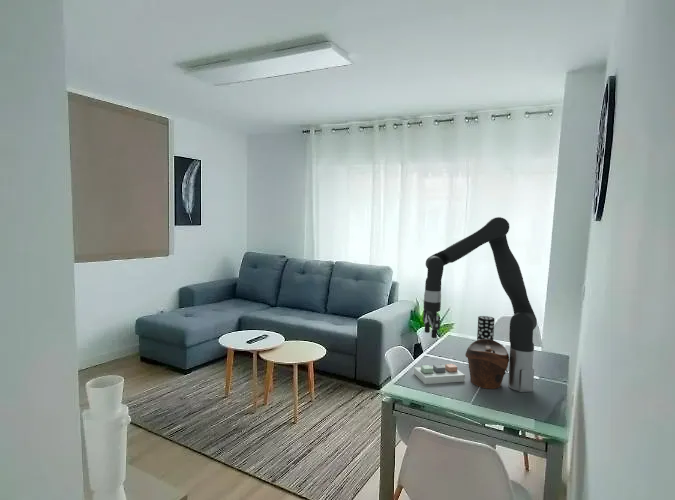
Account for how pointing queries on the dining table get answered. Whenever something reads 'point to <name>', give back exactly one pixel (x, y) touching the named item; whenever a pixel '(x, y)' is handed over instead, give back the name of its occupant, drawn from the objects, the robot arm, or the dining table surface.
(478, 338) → the white-spotted black cylinder
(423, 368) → the key sage
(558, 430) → the dining table surface
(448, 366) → the key terracotta
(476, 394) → the dining table surface
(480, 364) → the brown wooden rounded tub
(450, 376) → the keypad board
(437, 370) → the key charcoal
